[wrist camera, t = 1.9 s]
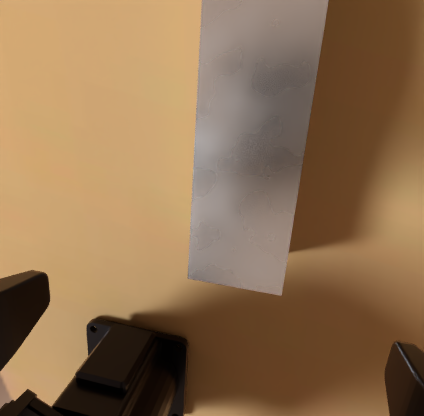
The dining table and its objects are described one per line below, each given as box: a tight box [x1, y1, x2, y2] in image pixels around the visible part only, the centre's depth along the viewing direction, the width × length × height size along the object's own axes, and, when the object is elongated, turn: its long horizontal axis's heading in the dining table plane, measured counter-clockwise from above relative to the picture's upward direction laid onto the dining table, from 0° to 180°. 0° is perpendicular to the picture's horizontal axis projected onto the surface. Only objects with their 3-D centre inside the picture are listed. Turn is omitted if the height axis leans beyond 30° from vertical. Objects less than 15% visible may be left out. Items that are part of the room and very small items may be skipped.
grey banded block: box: [188, 0, 329, 296], centre depth 14 cm, size 18×4×4 cm, turn 176°
